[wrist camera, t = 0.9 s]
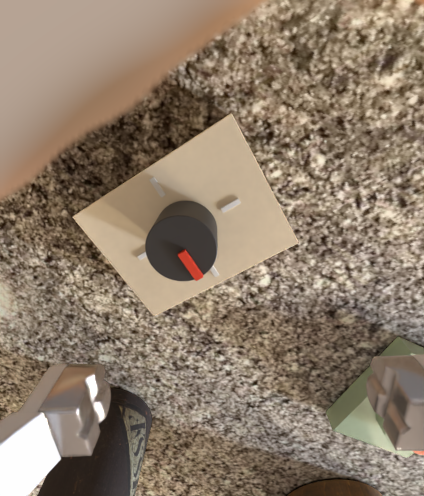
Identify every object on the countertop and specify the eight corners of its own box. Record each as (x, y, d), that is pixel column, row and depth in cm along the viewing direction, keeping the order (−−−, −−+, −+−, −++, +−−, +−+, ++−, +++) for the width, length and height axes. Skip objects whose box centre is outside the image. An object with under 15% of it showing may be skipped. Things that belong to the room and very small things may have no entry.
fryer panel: (229, 114, 20) (231, 112, 17) (289, 228, 24) (299, 243, 21) (88, 205, 23) (70, 217, 20) (160, 296, 27) (153, 317, 24)
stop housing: (397, 335, 28) (425, 368, 24) (475, 370, 30) (511, 405, 26) (325, 411, 32) (339, 448, 29) (396, 438, 34) (417, 476, 30)
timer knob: (143, 220, 20) (128, 240, 17) (196, 188, 19) (191, 203, 16) (178, 267, 22) (170, 295, 18) (228, 240, 21) (230, 264, 17)
